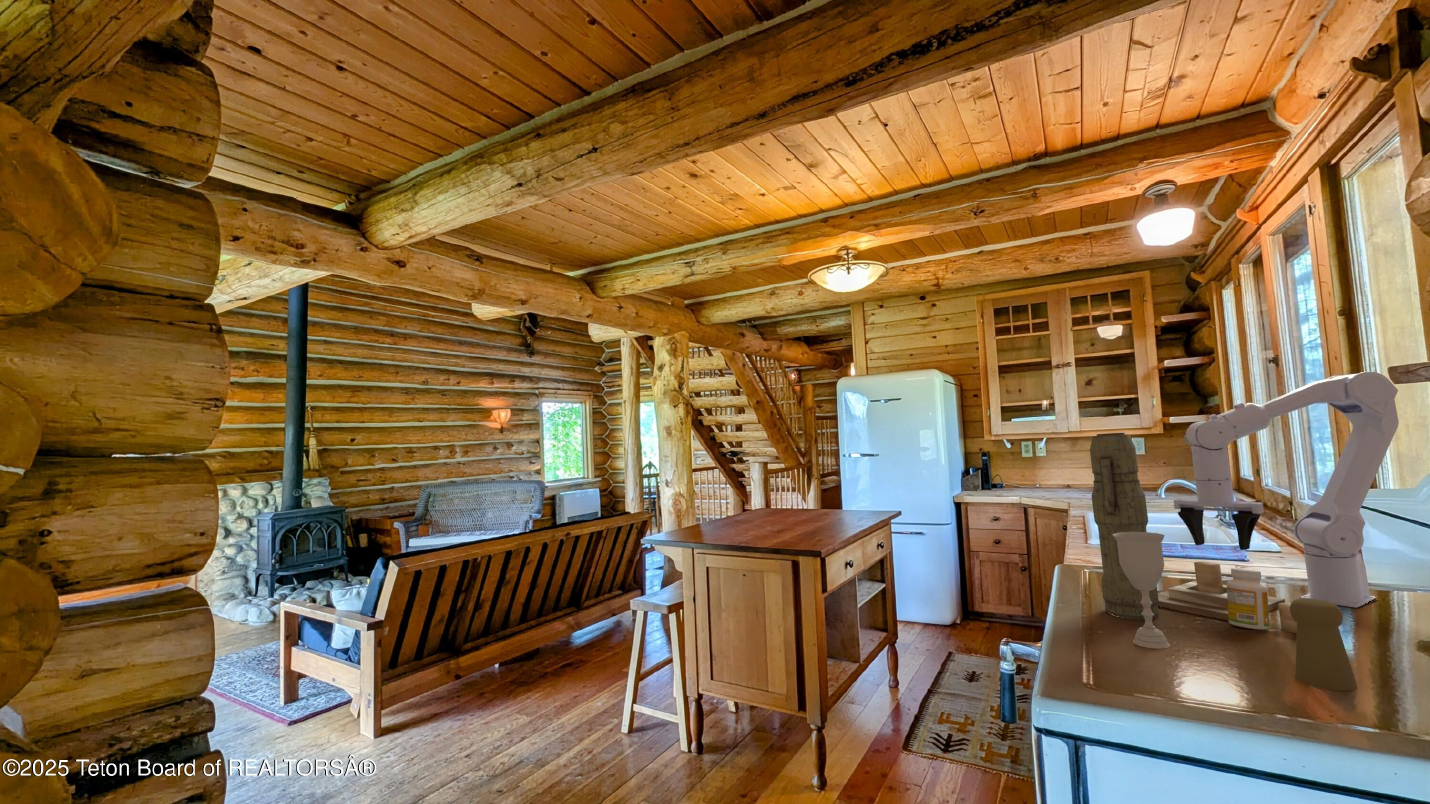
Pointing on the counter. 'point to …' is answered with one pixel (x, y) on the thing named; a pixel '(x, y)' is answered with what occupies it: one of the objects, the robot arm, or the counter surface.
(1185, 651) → the counter surface
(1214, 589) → the long oak dowel
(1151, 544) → the chalice
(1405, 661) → the counter surface
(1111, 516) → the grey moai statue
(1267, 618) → the supplement bottle
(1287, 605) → the short oak dowel
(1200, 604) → the collar board
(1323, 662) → the olive tapered capped post
